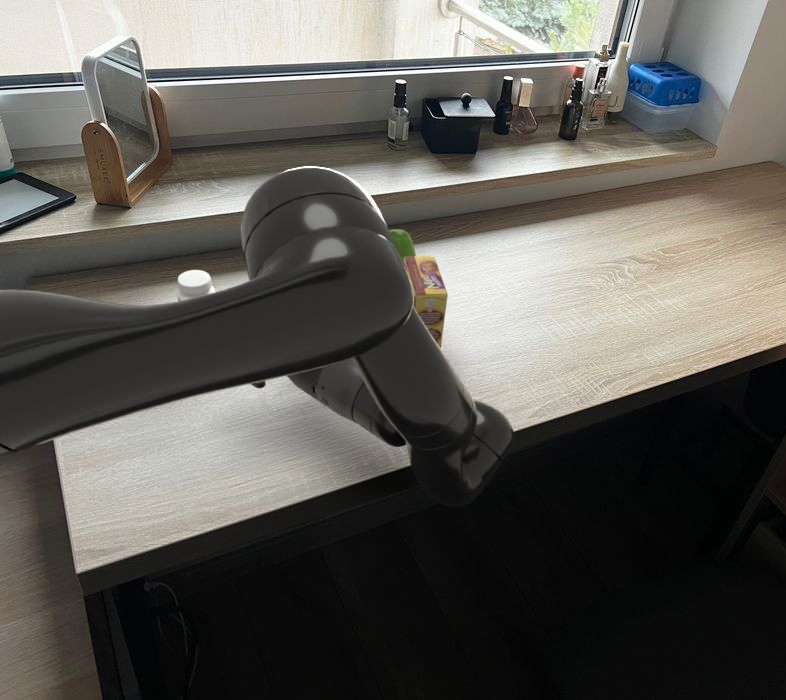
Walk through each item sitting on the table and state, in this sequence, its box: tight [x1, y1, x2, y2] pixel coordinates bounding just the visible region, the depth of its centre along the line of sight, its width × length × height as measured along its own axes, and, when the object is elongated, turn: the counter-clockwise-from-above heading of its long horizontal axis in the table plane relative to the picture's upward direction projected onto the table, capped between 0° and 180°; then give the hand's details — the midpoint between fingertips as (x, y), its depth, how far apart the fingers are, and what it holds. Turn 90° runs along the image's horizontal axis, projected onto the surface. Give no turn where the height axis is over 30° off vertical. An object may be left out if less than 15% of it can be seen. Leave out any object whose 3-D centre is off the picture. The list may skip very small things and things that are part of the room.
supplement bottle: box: [176, 269, 216, 302], centre depth 95 cm, size 5×5×8 cm
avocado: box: [388, 228, 417, 264], centre depth 105 cm, size 8×8×12 cm
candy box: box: [404, 255, 449, 350], centre depth 92 cm, size 9×4×15 cm, turn 13°
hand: (245, 313), depth 85 cm, fingers open, 8 cm apart
